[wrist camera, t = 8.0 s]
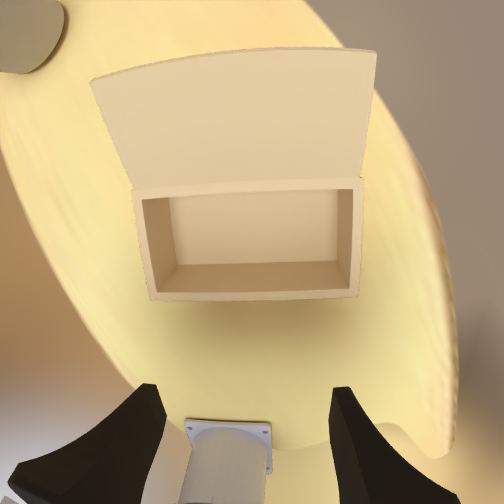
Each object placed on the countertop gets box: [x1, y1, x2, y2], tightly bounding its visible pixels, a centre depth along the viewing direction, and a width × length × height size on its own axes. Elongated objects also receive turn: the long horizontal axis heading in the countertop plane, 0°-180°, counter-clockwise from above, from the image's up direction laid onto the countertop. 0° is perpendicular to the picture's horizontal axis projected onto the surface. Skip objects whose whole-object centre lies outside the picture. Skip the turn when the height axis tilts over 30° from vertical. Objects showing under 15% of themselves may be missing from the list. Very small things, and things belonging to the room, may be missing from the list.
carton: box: [131, 177, 364, 301], centre depth 17 cm, size 6×11×4 cm, turn 94°
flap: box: [89, 47, 377, 190], centre depth 12 cm, size 6×11×1 cm
